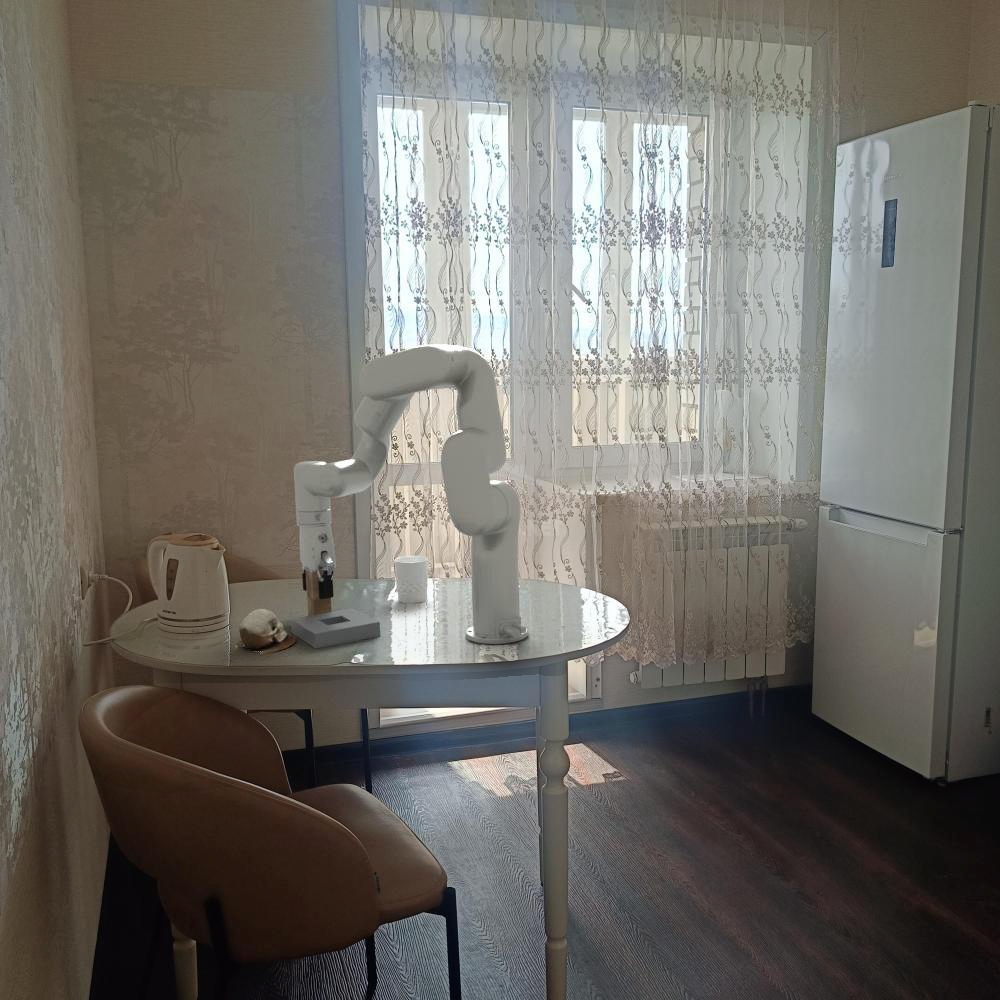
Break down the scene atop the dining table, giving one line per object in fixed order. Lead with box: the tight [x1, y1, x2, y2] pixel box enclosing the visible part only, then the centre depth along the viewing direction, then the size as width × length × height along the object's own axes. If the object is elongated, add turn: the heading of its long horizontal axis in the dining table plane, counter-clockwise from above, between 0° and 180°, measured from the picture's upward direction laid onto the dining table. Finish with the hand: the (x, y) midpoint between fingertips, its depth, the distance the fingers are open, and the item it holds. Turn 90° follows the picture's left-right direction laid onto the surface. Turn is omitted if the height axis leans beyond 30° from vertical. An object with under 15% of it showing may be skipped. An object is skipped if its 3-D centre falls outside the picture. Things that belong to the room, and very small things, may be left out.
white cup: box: [393, 555, 429, 604], centre depth 216 cm, size 8×8×10 cm
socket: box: [290, 607, 381, 649], centre depth 189 cm, size 14×14×3 cm
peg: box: [305, 566, 333, 616], centre depth 201 cm, size 4×4×12 cm
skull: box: [235, 608, 296, 655], centre depth 183 cm, size 12×10×10 cm
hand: (318, 593), depth 201 cm, fingers open, 9 cm apart
